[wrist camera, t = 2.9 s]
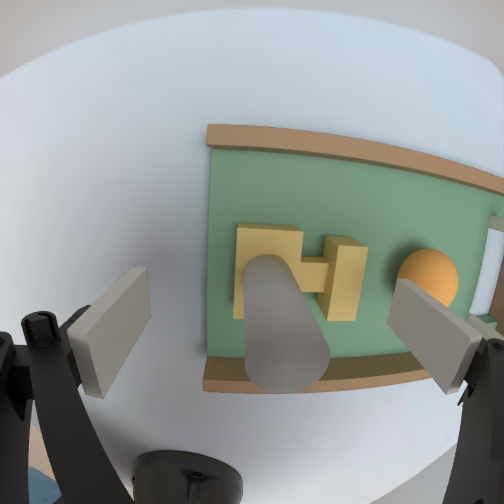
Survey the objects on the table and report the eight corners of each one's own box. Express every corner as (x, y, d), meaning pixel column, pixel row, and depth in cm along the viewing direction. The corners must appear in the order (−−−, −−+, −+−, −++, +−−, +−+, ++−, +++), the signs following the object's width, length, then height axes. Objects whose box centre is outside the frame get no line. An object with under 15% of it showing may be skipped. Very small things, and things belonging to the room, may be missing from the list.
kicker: (233, 305, 21) (228, 418, 10) (237, 222, 19) (233, 279, 9) (340, 308, 21) (405, 405, 11) (352, 230, 20) (448, 284, 9)
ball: (392, 310, 22) (422, 339, 17) (378, 257, 21) (411, 280, 16) (438, 284, 22) (472, 306, 17) (428, 232, 20) (467, 246, 16)
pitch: (209, 354, 25) (197, 429, 16) (215, 135, 20) (197, 108, 11) (484, 338, 26) (527, 374, 17) (516, 191, 22) (574, 203, 13)
